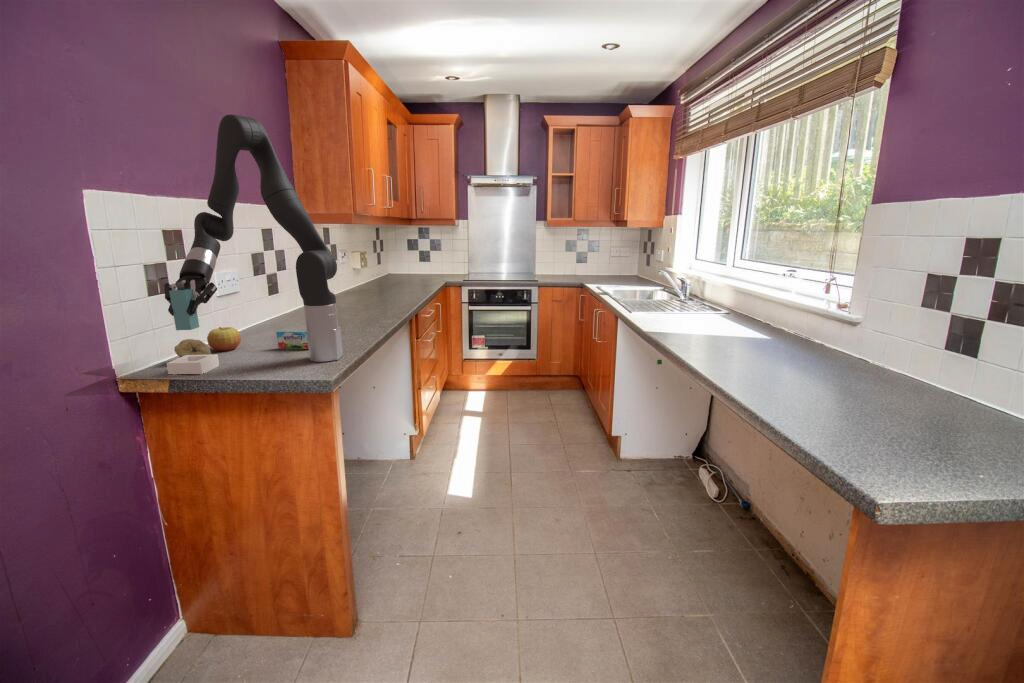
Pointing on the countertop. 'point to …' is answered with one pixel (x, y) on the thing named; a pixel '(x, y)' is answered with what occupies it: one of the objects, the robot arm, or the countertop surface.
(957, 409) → the countertop surface
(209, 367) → the socket
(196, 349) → the fossil
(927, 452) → the countertop surface
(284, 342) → the blue printed box
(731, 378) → the countertop surface
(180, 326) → the teal block with knob
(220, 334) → the apple
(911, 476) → the countertop surface
